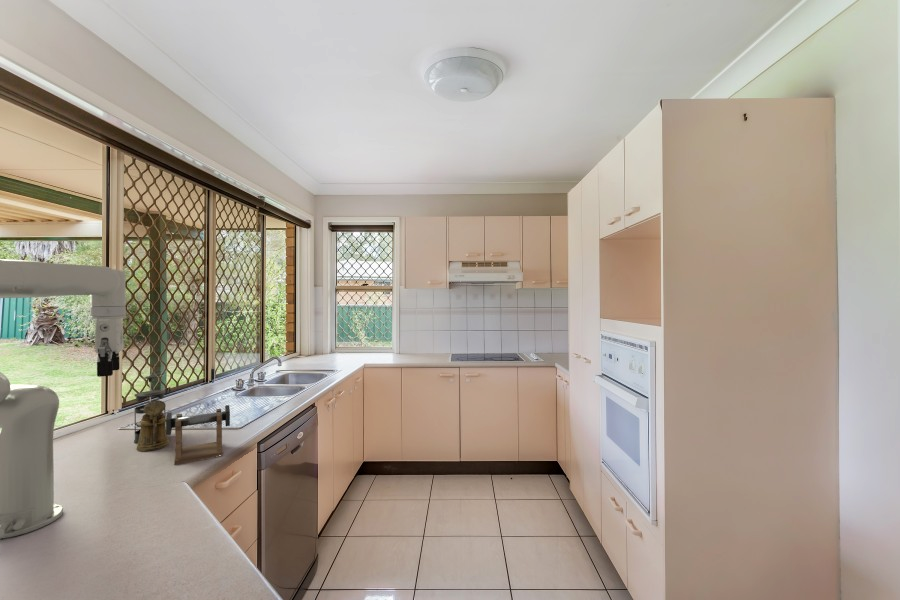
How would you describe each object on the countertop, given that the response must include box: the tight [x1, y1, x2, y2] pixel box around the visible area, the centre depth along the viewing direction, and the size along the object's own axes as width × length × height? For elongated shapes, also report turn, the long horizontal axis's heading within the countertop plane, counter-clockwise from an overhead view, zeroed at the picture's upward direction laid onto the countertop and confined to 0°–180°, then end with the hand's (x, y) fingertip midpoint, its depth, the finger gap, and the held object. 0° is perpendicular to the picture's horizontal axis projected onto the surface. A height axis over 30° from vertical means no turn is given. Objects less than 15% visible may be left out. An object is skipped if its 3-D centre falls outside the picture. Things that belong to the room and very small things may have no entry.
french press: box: [133, 375, 166, 445], centre depth 143 cm, size 12×9×23 cm
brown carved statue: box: [136, 399, 170, 452], centre depth 134 cm, size 9×14×18 cm, turn 41°
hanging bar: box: [165, 404, 231, 436], centre depth 129 cm, size 5×17×5 cm, turn 122°
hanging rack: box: [173, 408, 224, 466], centre depth 129 cm, size 12×13×13 cm
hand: (108, 373), depth 111 cm, fingers open, 9 cm apart
